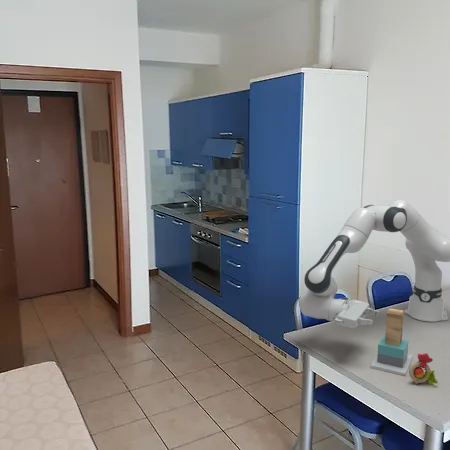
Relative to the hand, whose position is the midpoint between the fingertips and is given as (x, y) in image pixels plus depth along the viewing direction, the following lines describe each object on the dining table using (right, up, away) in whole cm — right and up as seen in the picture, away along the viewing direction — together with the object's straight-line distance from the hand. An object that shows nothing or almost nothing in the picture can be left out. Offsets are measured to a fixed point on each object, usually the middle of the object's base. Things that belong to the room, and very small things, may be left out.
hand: (375, 318), depth 174 cm
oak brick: (+6, -9, -2) cm, 11 cm away
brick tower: (+6, -17, 0) cm, 18 cm away
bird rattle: (+11, -20, -15) cm, 27 cm away
